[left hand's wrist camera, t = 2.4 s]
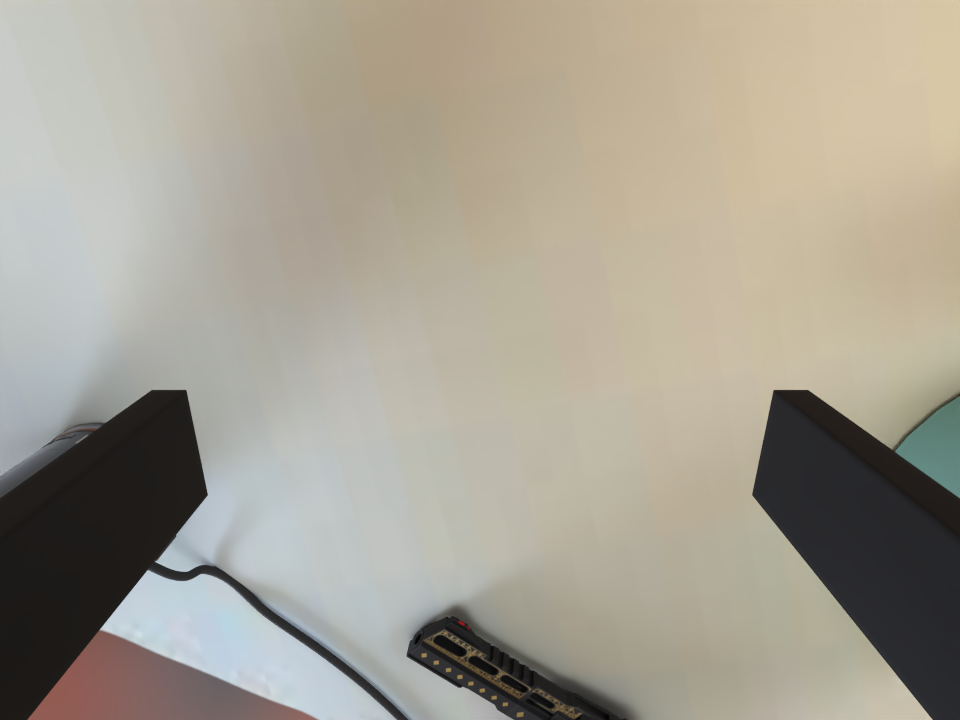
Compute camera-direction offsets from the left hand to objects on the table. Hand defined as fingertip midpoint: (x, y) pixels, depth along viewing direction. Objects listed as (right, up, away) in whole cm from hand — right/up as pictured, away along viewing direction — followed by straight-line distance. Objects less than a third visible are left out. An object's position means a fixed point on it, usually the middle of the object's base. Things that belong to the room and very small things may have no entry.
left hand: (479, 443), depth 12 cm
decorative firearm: (+4, -34, +42) cm, 54 cm away
